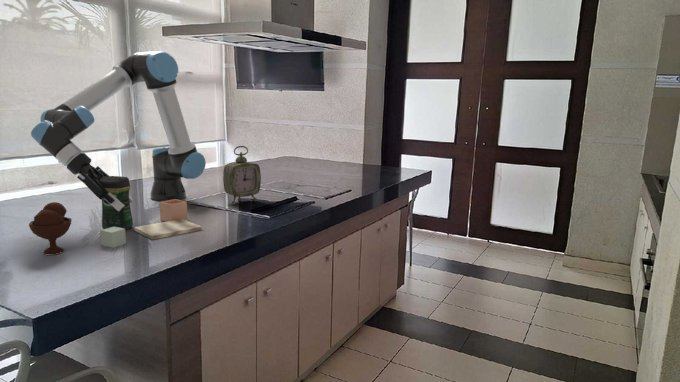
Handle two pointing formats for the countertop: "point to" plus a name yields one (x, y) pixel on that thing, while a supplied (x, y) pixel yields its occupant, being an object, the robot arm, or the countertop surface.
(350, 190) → the countertop surface
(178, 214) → the terracotta cup
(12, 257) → the countertop surface
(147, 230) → the birch board
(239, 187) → the tabletop clock
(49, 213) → the ice cream bowl
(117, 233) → the grey-green block
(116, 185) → the coffee jar
